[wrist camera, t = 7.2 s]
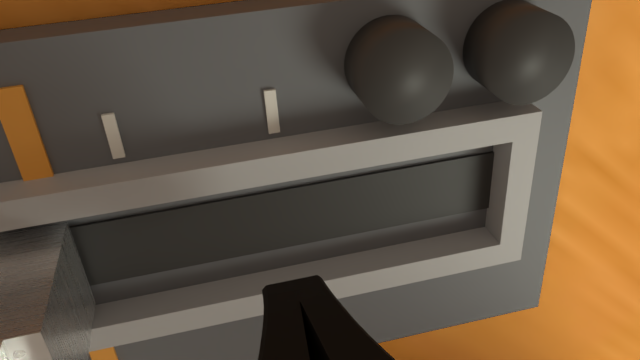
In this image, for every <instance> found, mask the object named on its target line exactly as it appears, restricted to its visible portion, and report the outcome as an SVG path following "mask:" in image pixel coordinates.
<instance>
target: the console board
mask: <svg viewBox="0 0 640 360" xmlns="http://www.w3.org/2000/svg"><path fill="white" fill-rule="evenodd" d="M591 2H592V0H243V1H234V2H226V3H218V4H210V5H201V6H193V7H185V8H177V9H168V10H160V11H152V12H144V13H135V14H127V15H119V16H111V17H102V18H94V19H86V20H78V21H69V22H61V23H53V24H45V25H36V26H28V27H20V28H12V29H3V30H0V233H5V232H11V231H17V230H22V229H28V228H34V227H39V226H45V225H51V224H56V223H62V222H67V223H68V226H69V228H70V231H71V234H72V237H73V240H74V243H75V246H76V248H77V251H78V254H79V257H80V260H81V263H82V266H83V268H84V271H85V274H86V277H87V280H88V283H89V286H90V288H91V291H92V294H93V297H94V300H95V303H96V304H95V311H94V318H93V326H92V333H91V340H90V347H89V355H88V360H258V356H259V350H260V343H261V336H262V328H263V315H264V303H263V295H262V289H263V288H264V287H265V286H266V285H270V284H275V283H280V282H285V281H290V280H294V279H299V278H304V277H309V276H314V275H318V276H320V277H321V278H322V279H323V280H324V282H325V283H326V285H327V286H328V288H329V289H330V290H331V292H332V293H333V294H334V296H335V297H336V298H337V299H338V301H339V302H340V303H341V304H342V305H343V307H344V308H345V309H346V310H347V311H348V313H349V314H350V315H351V316H352V317H353V318H354V319H355V320H356V321H357V323H358V324H359V325H360V326H361V327H362V328H363V329H364V330H365V331H366V332H367V333H368V334H369V335H370V336H371V337H372V338H373V339H374V340H375V341H376V342H377V343H381V342H386V341H390V340H394V339H399V338H403V337H407V336H412V335H416V334H420V333H425V332H429V331H433V330H438V329H442V328H447V327H451V326H455V325H460V324H464V323H468V322H473V321H477V320H481V319H486V318H490V317H494V316H499V315H503V314H507V313H512V312H516V311H521V310H525V309H529V308H534V307H538V303H539V298H540V292H541V286H542V281H543V275H544V269H545V264H546V258H547V252H548V247H549V241H550V235H551V229H552V224H553V218H554V212H555V207H556V201H557V195H558V190H559V184H560V178H561V173H562V167H563V161H564V156H565V150H566V144H567V139H568V133H569V127H570V121H571V116H572V110H573V104H574V99H575V93H576V87H577V82H578V76H579V70H580V65H581V59H582V53H583V48H584V42H585V36H586V31H587V25H588V19H589V13H590V8H591Z"/></svg>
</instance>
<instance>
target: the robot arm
mask: <svg viewBox="0 0 640 360" xmlns="http://www.w3.org/2000/svg"><path fill="white" fill-rule="evenodd" d="M262 295H263V303H264V315H263V328H262V336H261V343H260V350H259V356H258V360H395V359H394V358H393V357H392V356H391V355H389V354H388V353H387V352H386V351H385V350H384V349H383V348H382V347H381V346H380V345H379V344H378V343H377V342H376V341H375V340H374V339H373V338H372V337H371V336H370V335H369V334H368V333H367V332H366V331H365V330H364V329H363V328H362V327H361V326H360V325H359V324H358V323H357V321H356V320H355V319H354V318H353V317H352V316H351V315H350V314H349V313H348V311H347V310H346V309H345V308H344V307H343V305H342V304H341V303H340V302H339V301H338V299H337V298H336V297H335V296H334V294H333V293H332V292H331V290H330V289H329V288H328V286H327V285H326V283H325V282H324V280H323V279H322V278H321V277H320V276H318V275H314V276H309V277H304V278H299V279H294V280H290V281H285V282H280V283H275V284H270V285H266V286H265V287H264V288H263V289H262Z"/></svg>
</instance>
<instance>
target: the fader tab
mask: <svg viewBox="0 0 640 360" xmlns="http://www.w3.org/2000/svg"><path fill="white" fill-rule="evenodd" d="M95 304H96V303H95V300H94V297H93V294H92V291H91V288H90V286H89V283H88V280H87V277H86V274H85V271H84V268H83V266H82V263H81V260H80V257H79V254H78V251H77V248H76V246H75V243H74V240H73V237H72V234H71V231H70V228H69V226H68V223H67V222H62V223H56V224H51V225H45V226H39V227H34V228H28V229H22V230H17V231H11V232H5V233H0V360H88V355H89V347H90V340H91V333H92V326H93V318H94V311H95Z"/></svg>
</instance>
